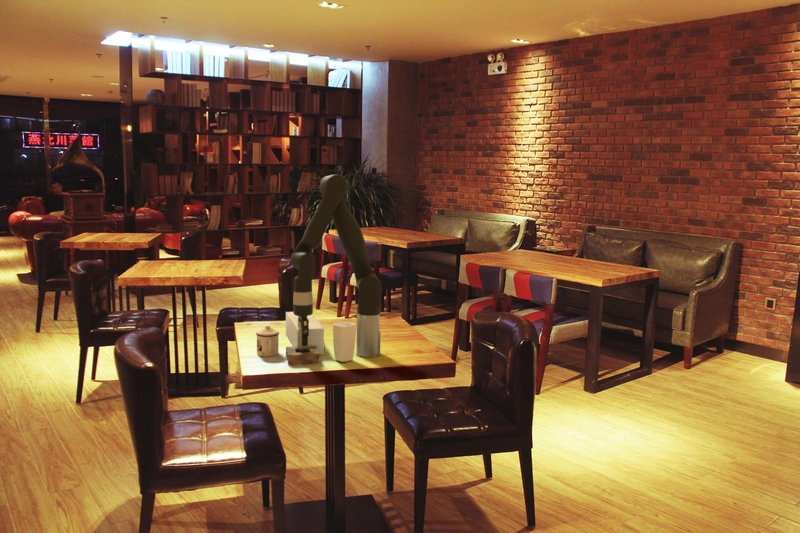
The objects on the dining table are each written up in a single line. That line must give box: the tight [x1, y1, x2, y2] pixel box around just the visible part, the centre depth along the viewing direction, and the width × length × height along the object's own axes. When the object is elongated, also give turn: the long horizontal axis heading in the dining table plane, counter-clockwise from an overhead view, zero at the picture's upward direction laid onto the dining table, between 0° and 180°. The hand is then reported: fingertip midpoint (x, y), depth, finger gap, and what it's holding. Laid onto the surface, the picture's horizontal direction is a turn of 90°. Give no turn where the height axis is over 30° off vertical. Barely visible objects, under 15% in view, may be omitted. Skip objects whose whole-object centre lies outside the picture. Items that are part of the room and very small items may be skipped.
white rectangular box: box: [285, 311, 325, 354], centre depth 299 cm, size 32×11×11 cm, turn 18°
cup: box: [332, 321, 357, 363], centre depth 276 cm, size 7×7×15 cm
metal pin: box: [297, 330, 308, 353], centre depth 275 cm, size 4×4×12 cm
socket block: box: [285, 346, 321, 366], centre depth 276 cm, size 12×12×4 cm
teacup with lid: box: [255, 324, 280, 357], centre depth 281 cm, size 12×9×12 cm
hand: (303, 342), depth 275 cm, fingers open, 8 cm apart
